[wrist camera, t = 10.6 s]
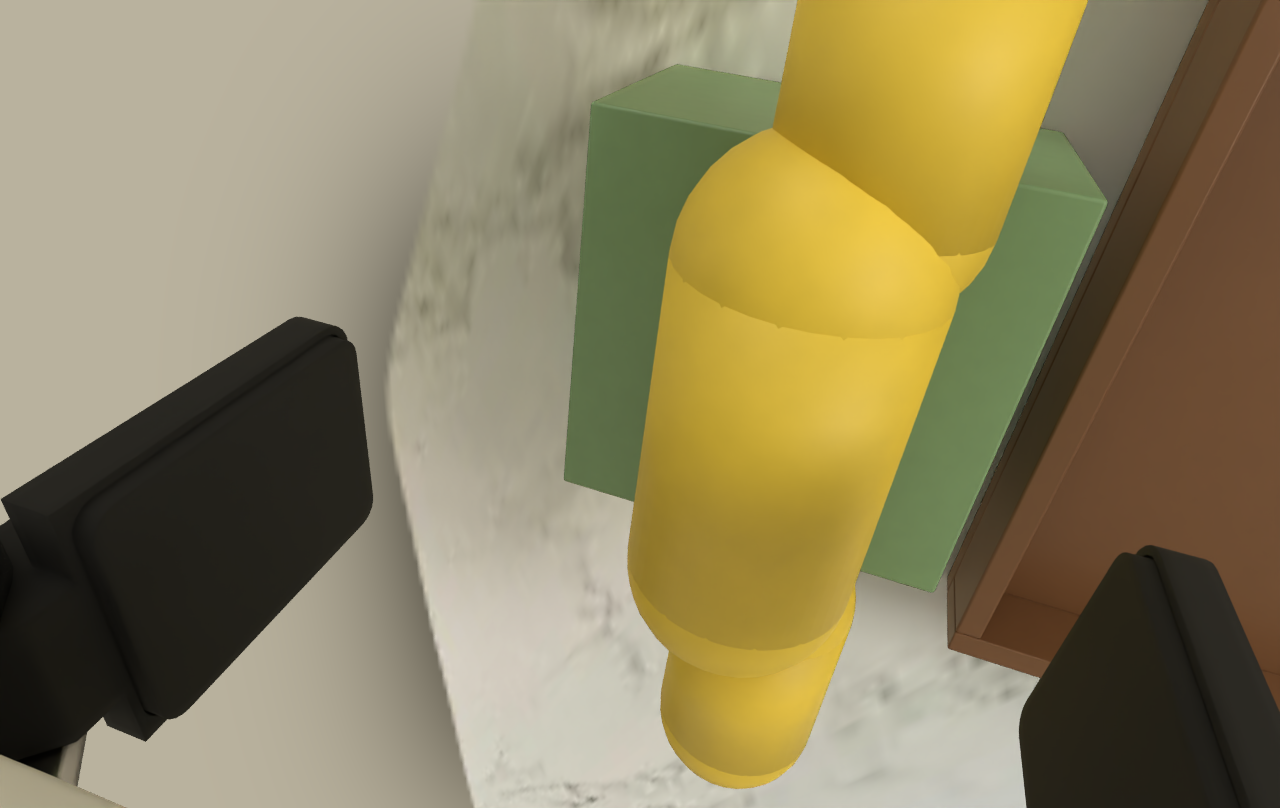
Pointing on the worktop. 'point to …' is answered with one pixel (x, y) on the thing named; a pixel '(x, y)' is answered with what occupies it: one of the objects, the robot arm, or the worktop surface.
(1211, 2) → the tray
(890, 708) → the worktop surface
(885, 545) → the block
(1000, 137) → the yellow stacked capsules
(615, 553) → the worktop surface
